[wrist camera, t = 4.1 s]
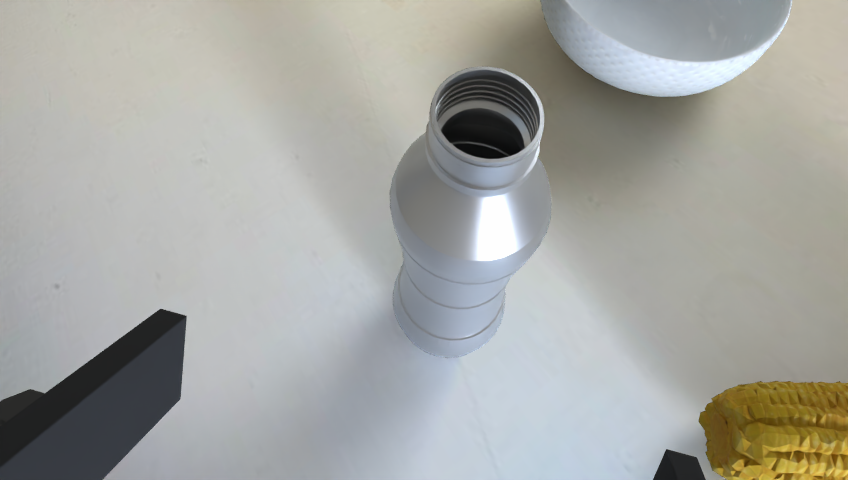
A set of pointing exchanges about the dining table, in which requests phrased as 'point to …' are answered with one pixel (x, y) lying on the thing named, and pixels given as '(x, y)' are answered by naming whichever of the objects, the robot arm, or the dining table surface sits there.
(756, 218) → the dining table surface
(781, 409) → the food
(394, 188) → the silver aluminium bottle
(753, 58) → the cereal bowl
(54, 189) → the dining table surface
